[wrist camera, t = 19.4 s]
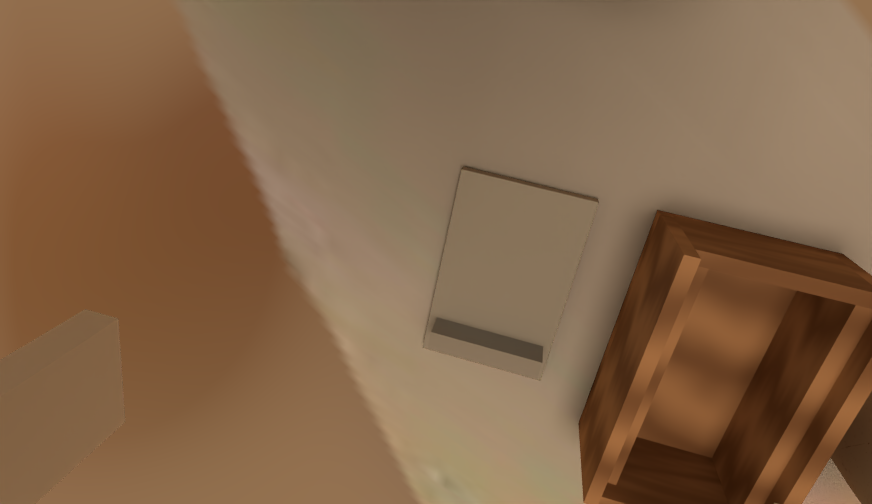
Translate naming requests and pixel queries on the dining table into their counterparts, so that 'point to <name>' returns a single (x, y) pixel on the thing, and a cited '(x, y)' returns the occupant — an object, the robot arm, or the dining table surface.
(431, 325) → the slate lid
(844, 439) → the thermos bottle
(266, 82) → the dining table surface
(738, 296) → the walnut box
